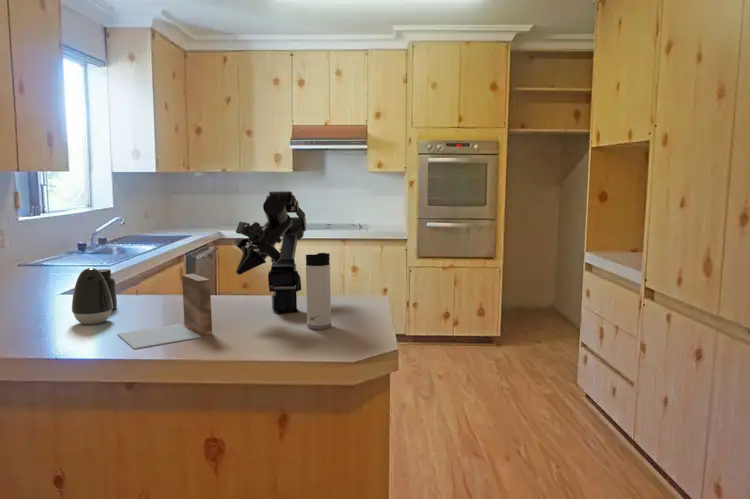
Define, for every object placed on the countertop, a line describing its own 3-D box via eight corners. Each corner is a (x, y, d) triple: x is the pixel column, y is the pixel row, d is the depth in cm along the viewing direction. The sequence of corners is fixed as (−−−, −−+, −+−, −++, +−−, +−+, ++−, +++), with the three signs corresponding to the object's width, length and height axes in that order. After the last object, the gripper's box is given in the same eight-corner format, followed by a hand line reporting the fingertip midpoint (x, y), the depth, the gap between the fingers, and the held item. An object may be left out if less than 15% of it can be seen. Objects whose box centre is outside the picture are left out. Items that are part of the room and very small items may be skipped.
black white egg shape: (71, 328, 155) (67, 272, 154) (74, 320, 165) (70, 266, 163) (113, 324, 159) (110, 269, 158) (113, 316, 169) (110, 264, 167)
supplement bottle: (97, 307, 182) (95, 268, 180) (120, 306, 182) (117, 268, 181) (88, 312, 175) (86, 272, 173) (112, 311, 175) (109, 271, 174)
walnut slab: (195, 324, 159) (193, 273, 157) (212, 333, 149) (209, 279, 148) (184, 326, 157) (181, 274, 155) (200, 335, 148) (198, 280, 146)
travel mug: (313, 331, 151) (311, 254, 148) (303, 325, 156) (302, 251, 154) (335, 328, 154) (333, 252, 151) (325, 322, 159) (324, 249, 157)
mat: (180, 324, 158) (180, 323, 158) (201, 337, 146) (201, 336, 146) (117, 334, 149) (117, 333, 149) (134, 349, 136) (134, 348, 136)
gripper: (239, 209, 167) (203, 251, 162) (269, 212, 152) (230, 258, 147) (265, 235, 173) (231, 276, 167) (296, 240, 158) (260, 285, 153)
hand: (237, 273), depth 158 cm, fingers closed
